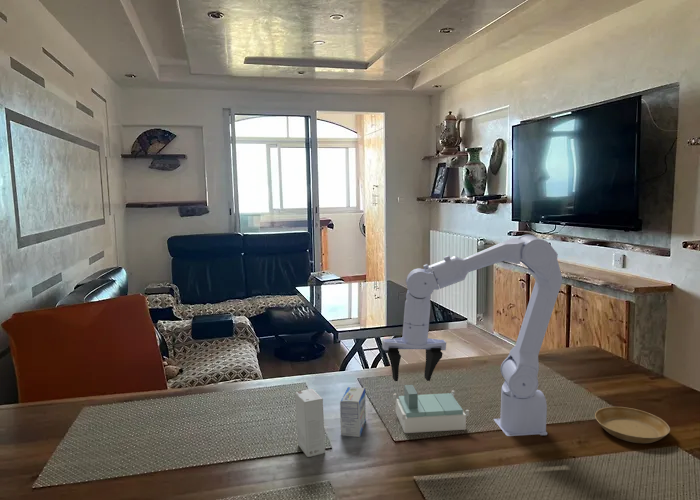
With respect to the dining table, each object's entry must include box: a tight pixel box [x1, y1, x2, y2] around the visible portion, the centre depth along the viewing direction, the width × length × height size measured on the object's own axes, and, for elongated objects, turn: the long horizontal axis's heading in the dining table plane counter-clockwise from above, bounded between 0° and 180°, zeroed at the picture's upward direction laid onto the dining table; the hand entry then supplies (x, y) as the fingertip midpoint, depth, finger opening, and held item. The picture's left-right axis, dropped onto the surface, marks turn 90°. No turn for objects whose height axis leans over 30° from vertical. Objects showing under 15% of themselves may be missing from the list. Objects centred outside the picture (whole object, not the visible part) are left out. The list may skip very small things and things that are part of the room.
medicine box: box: [339, 386, 367, 438], centre depth 114 cm, size 8×4×9 cm, turn 168°
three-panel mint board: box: [397, 384, 464, 417], centre depth 116 cm, size 13×9×4 cm
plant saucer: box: [594, 406, 671, 444], centre depth 113 cm, size 15×15×3 cm
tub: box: [392, 390, 470, 434], centre depth 117 cm, size 15×11×5 cm
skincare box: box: [294, 388, 326, 458], centre depth 106 cm, size 6×4×12 cm
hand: (411, 379), depth 115 cm, fingers open, 7 cm apart
